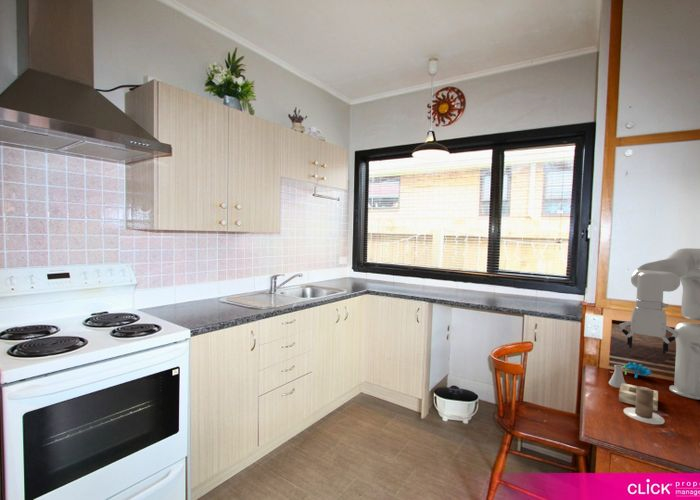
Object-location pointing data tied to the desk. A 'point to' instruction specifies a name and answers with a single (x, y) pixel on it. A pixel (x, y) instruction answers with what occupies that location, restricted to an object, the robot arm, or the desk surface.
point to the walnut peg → (644, 402)
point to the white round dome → (654, 420)
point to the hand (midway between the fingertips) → (646, 350)
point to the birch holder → (634, 395)
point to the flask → (617, 377)
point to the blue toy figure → (636, 369)
